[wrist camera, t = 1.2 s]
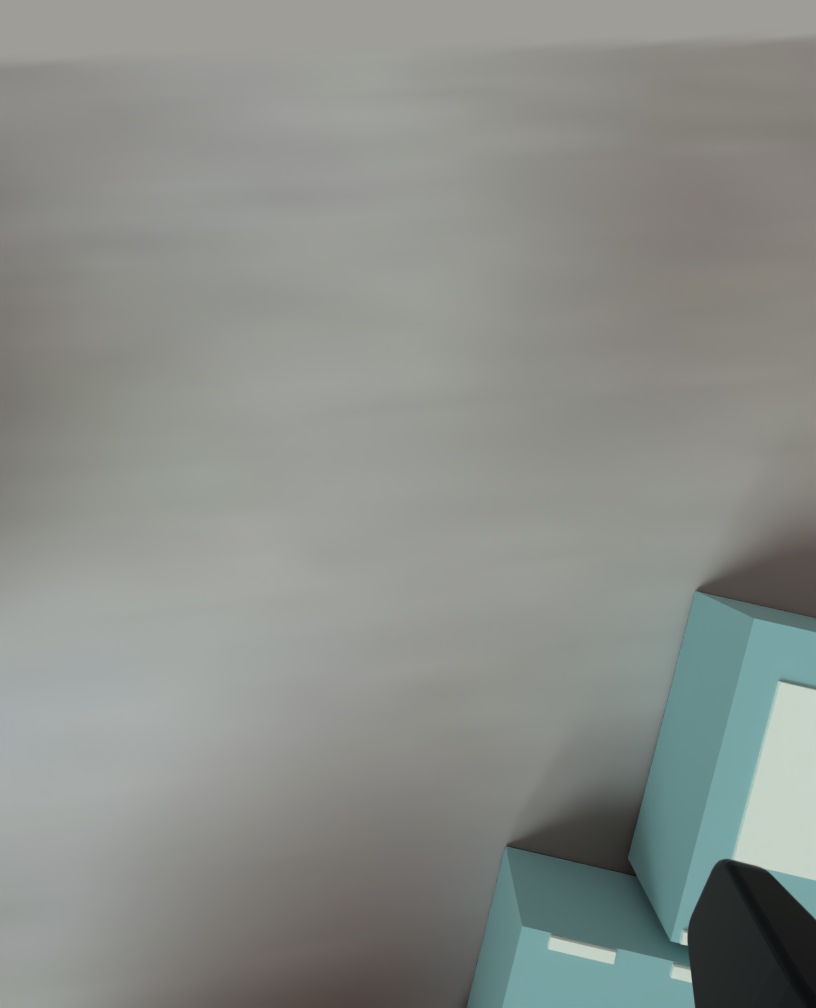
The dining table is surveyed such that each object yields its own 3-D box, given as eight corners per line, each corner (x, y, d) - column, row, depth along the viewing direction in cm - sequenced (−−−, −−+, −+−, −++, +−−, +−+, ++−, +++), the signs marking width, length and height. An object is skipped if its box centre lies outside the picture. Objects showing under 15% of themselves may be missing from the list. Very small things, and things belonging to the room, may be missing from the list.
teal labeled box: (797, 897, 20) (879, 992, 16) (627, 858, 20) (672, 944, 16) (869, 630, 19) (970, 667, 16) (695, 590, 20) (756, 619, 16)
